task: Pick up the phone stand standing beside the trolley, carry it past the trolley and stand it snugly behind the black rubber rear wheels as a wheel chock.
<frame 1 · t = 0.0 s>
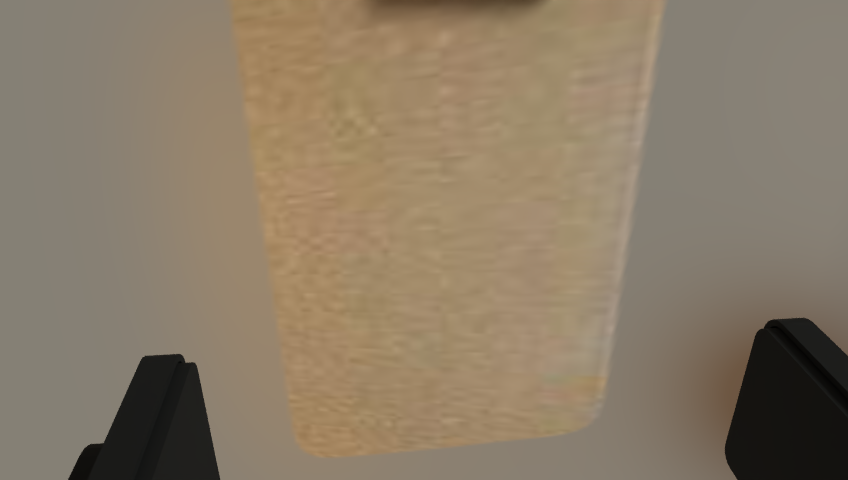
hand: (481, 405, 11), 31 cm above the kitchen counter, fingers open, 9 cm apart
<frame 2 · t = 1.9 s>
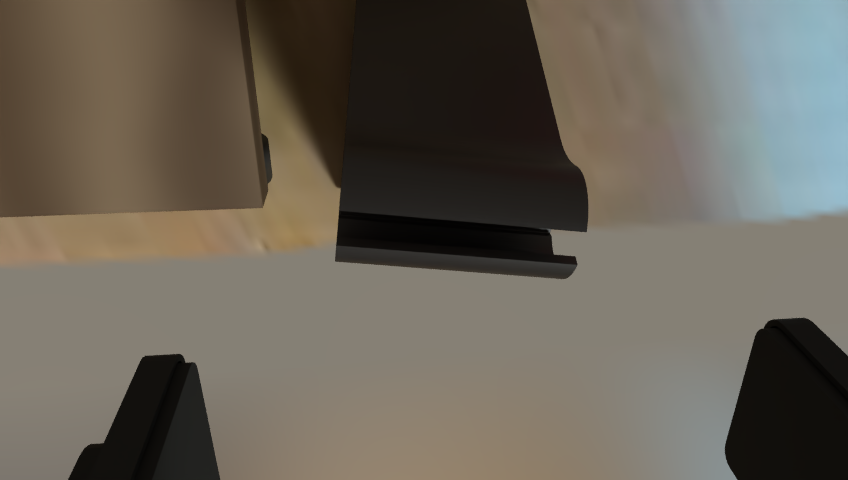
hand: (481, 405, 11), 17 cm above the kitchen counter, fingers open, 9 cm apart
phone stand: (424, 93, 27), on the kitchen counter
trolley: (46, 66, 23), point 2 cm above the kitchen counter, slide at 0.0 cm
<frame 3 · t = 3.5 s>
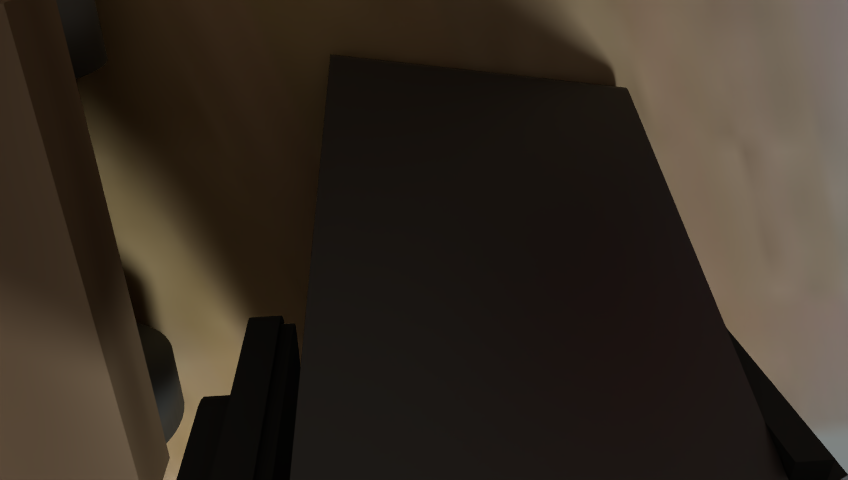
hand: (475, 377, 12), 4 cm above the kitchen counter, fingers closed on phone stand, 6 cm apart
phone stand: (446, 256, 16), on the kitchen counter, touching gripper
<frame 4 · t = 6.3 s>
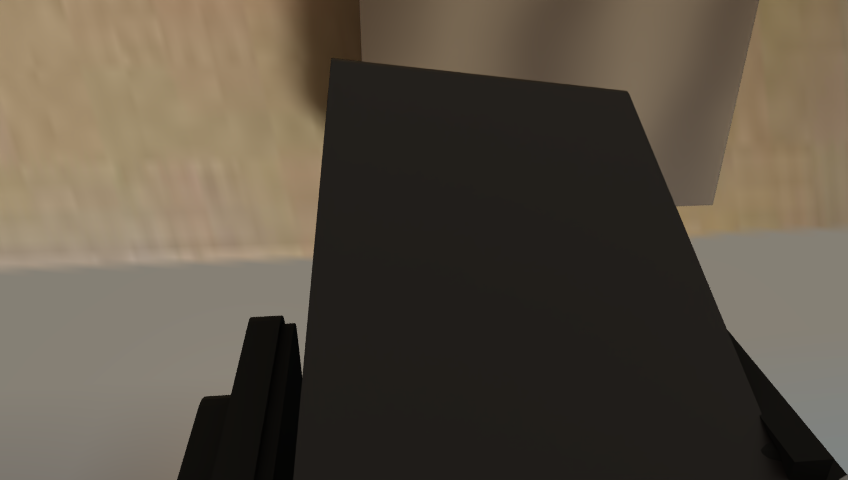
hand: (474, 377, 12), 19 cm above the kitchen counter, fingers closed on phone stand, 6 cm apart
phone stand: (446, 259, 16), point 15 cm above the kitchen counter, touching gripper
trolley: (540, 83, 27), point 2 cm above the kitchen counter, slide at 0.0 cm
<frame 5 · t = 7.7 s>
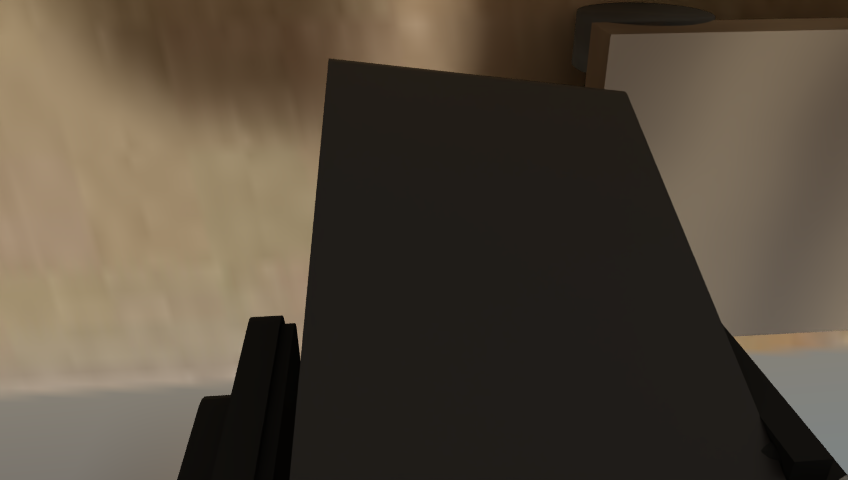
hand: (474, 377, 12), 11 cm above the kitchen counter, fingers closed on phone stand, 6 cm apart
phone stand: (445, 260, 16), point 7 cm above the kitchen counter, touching gripper
trolley: (795, 167, 20), point 2 cm above the kitchen counter, slide at 0.0 cm
when the fingers open (5 cm above the kitchen counter, at t = 9.1 s): phone stand stays where it is, on the kitchen counter.
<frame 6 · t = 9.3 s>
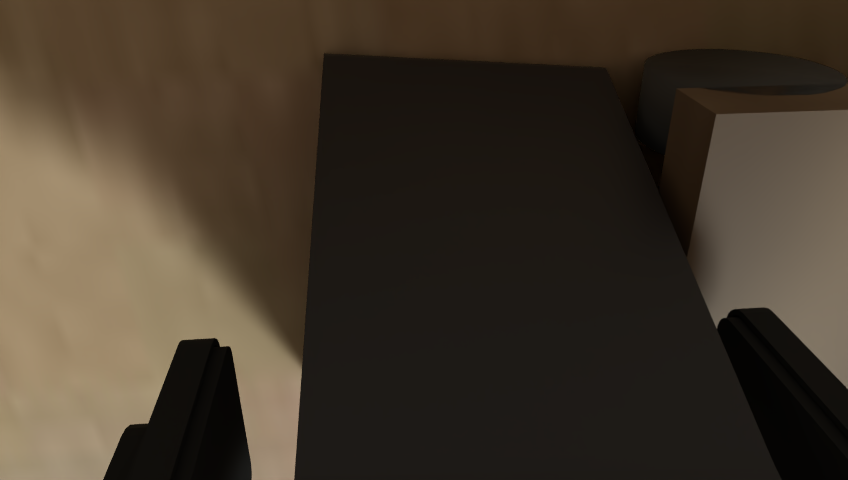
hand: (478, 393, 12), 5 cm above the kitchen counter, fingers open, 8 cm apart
phone stand: (446, 238, 17), on the kitchen counter
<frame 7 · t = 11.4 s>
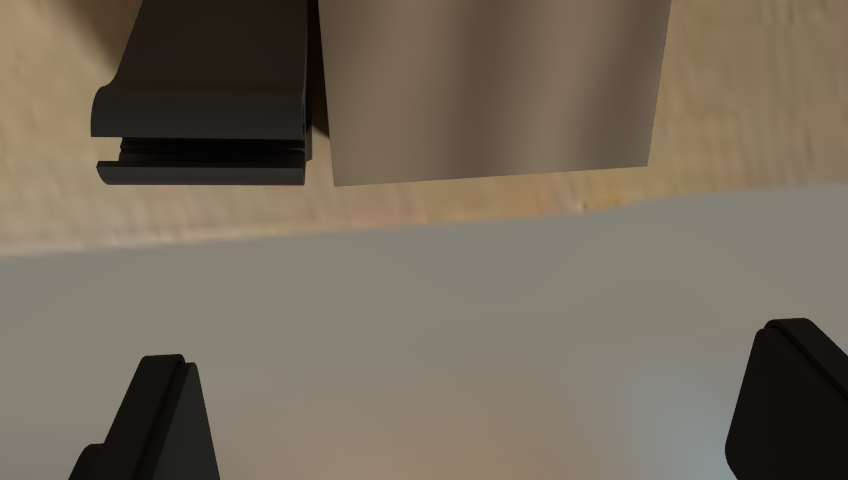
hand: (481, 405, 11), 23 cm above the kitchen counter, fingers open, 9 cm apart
phone stand: (244, 60, 31), on the kitchen counter
trolley: (486, 61, 30), point 2 cm above the kitchen counter, slide at 0.0 cm
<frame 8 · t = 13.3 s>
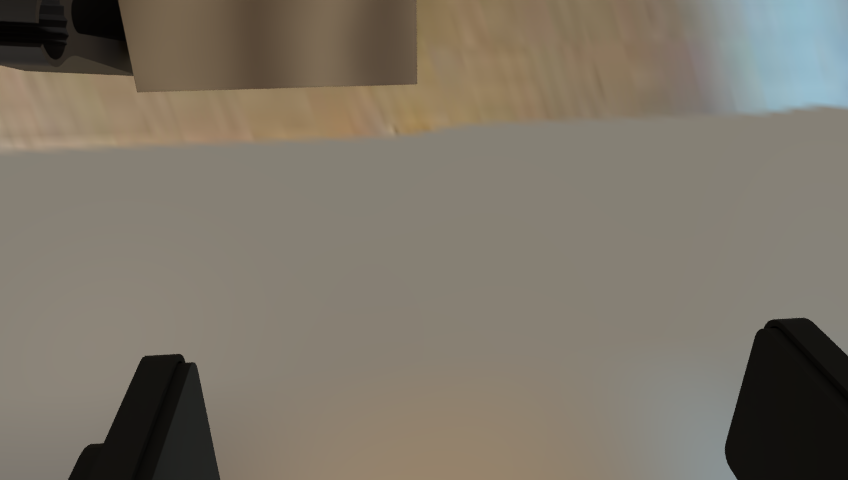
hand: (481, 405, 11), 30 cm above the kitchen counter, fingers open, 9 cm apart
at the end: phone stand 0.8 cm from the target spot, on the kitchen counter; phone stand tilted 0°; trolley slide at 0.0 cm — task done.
